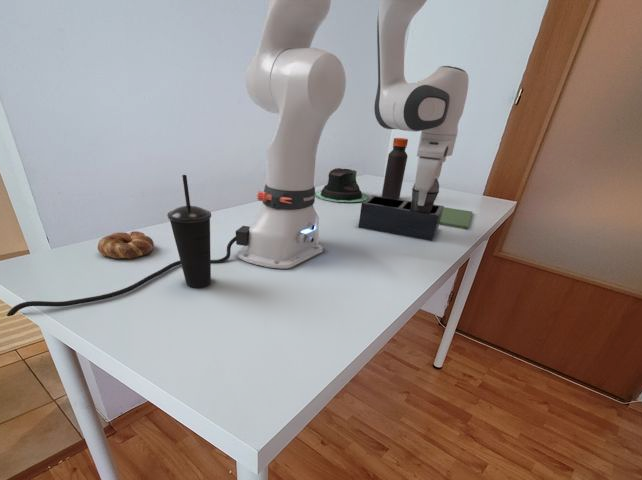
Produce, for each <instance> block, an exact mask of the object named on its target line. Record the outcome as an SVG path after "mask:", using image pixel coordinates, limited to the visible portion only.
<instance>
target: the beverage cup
mask: <svg viewBox="0 0 642 480" xmlns="http://www.w3.org/2000/svg"><path fill="white" fill-rule="evenodd" d="M439 193H440V182H439V179H438V180H437V178H435V181H434V184H433V186H432V187H431V188H430V190H429V191H428V193H427V196H426V201H425V204H424V205H423V206H419V205H418V199H419V190H416V189H415V182H414V184H413V186H412V188H411V201H412V202H411V209H410V210H415V211H421V212H427V213H431V210H432V207H433V204H434V205H435V201H436V200H437V197H438V194H439Z"/></svg>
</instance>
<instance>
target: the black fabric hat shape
mask: <svg viewBox="0 0 642 480" xmlns="http://www.w3.org/2000/svg"><path fill="white" fill-rule="evenodd" d="M315 197H317V198H319V199H321V200H323V201H329V202H335V203H336V202H337V203H356V202H364V201H365V200H367V199H368V198H369V196H366V195H365V194H364V193H363V192H362V190H361V189H360V186H359V184H358V182H357V170H355V169H353V170H352V169H350V168H342V167H341V168H340V167H338V168H333V169H331V170H330V171H329V172H328V181H327V184H325V185H324V187H322V189H321V190H319V191H317V192H315Z"/></svg>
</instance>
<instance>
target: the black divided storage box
mask: <svg viewBox="0 0 642 480" xmlns="http://www.w3.org/2000/svg"><path fill="white" fill-rule="evenodd" d="M411 202H412V200H406V199H400V198H399V199H394V198H387V197H382V195H381V196H380V195H371V196H368V199H366V200H364V201H362V202H361V205H360V206H361V207H360V214H359V219H358V226H357V227H358V229H363V230H369V231H375V232H380V233H386V234H391V235H396V236H402V237H407V238H413V239H418V240H424V241H428V242H433V240H434V238H435V236H436V234H437V233H438V230H439V227H440V224H439V223H440V219H441V216H442V212H443V208H444V207H445V206H444V205H440V204H439V205H438V204H435V203H434V204H433V207H432V210H431V213H427V212H421V211H415V210H410V209H411Z"/></svg>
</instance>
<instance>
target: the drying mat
mask: <svg viewBox="0 0 642 480" xmlns="http://www.w3.org/2000/svg"><path fill="white" fill-rule="evenodd" d="M472 215H473V211H471V210H465V209H458V208H452V207H445V206H444V208H443V212H442V216H441V219H440V223H439V226H440V225H441V226H446V227H453V228H459V229H463V230H464V229H465V230H469V226H470V223H471V218H472Z"/></svg>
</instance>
